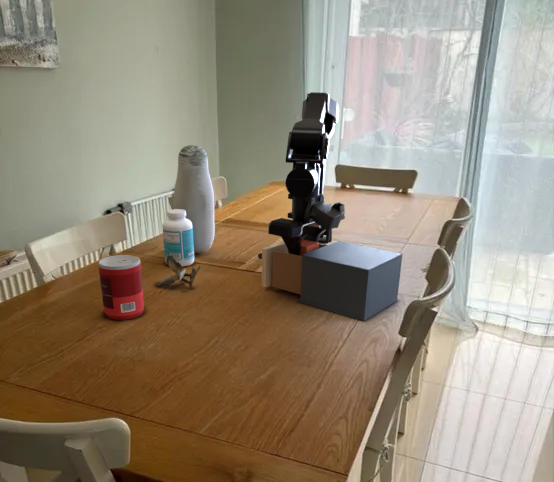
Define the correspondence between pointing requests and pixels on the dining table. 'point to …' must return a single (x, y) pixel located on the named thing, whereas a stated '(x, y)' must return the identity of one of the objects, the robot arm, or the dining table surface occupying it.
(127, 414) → the dining table surface
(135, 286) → the canned food
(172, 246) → the pill bottle
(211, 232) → the white tall rounded cylinder
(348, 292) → the dark grey rectangular block
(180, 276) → the eagle figurine
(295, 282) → the drawer
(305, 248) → the block
